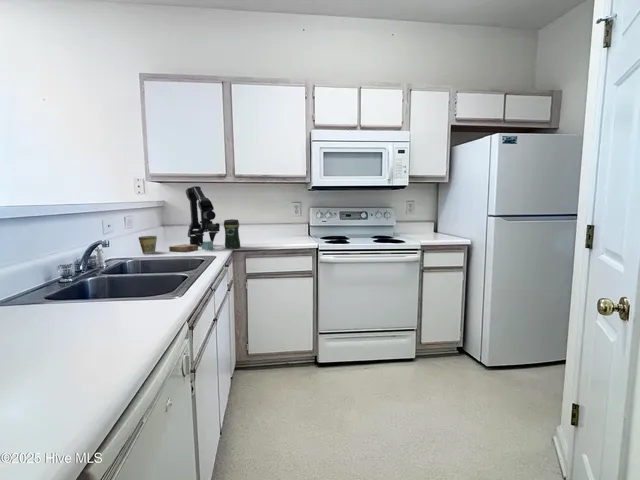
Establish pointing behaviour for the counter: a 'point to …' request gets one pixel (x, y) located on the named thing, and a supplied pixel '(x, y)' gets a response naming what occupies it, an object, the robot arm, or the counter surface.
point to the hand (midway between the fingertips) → (207, 243)
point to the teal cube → (207, 245)
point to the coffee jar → (231, 233)
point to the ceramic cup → (148, 244)
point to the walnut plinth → (183, 248)
